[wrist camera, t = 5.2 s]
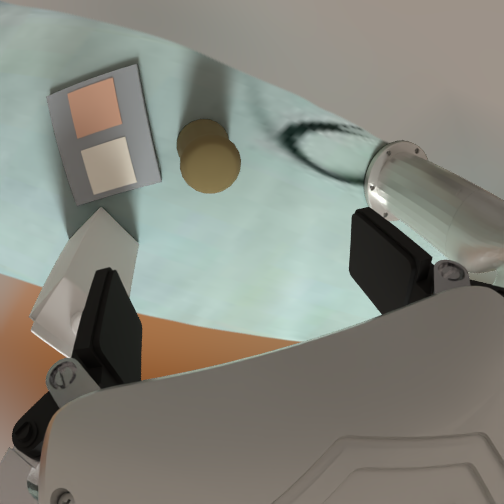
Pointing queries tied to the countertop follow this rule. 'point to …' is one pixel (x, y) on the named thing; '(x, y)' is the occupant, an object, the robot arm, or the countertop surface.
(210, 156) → the cork
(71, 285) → the milk carton
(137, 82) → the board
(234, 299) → the countertop surface
